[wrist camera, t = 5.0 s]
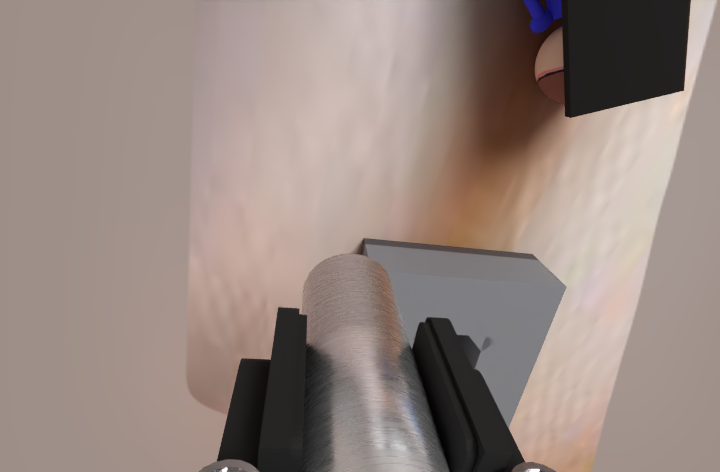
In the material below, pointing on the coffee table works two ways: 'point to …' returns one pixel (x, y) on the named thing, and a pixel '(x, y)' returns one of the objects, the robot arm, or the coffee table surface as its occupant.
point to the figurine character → (610, 51)
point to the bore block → (477, 305)
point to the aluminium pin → (362, 376)
